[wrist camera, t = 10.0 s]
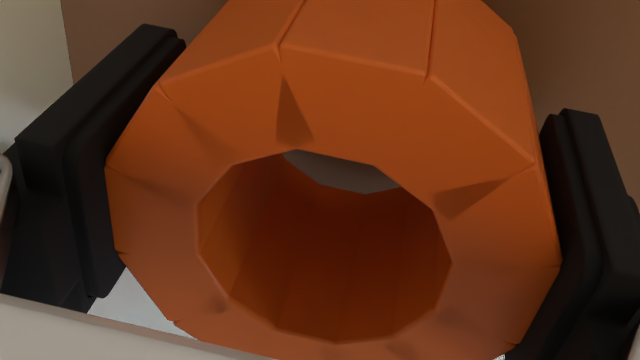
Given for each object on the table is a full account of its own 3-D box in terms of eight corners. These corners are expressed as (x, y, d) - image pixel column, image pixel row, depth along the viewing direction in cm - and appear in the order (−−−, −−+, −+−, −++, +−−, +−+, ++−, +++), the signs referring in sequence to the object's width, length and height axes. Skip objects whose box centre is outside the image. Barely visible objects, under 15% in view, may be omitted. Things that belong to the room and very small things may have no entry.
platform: (929, -186, 11) (1086, -160, 8) (635, 263, 18) (665, 356, 15) (110, -314, 12) (6, -329, 9) (146, 154, 20) (93, 222, 17)
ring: (585, -11, 9) (648, 117, 6) (472, 266, 13) (476, 430, 10) (200, -83, 10) (77, 1, 7) (201, 205, 14) (125, 343, 11)
